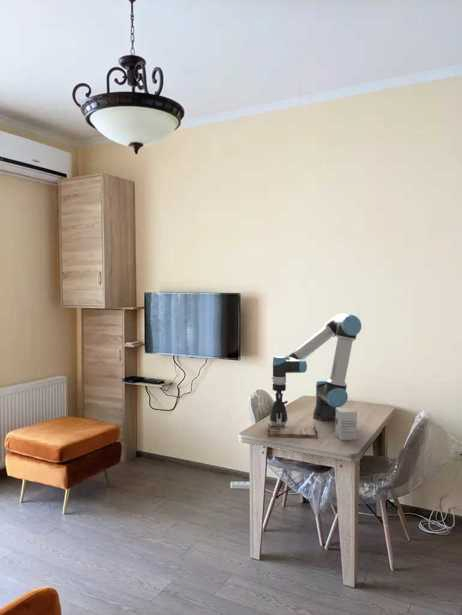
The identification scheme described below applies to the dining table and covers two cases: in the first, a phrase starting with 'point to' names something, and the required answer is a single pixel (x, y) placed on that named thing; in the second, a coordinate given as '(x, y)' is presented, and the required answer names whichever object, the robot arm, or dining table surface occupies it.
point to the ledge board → (292, 432)
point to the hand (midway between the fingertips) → (278, 421)
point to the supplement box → (346, 423)
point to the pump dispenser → (274, 415)
